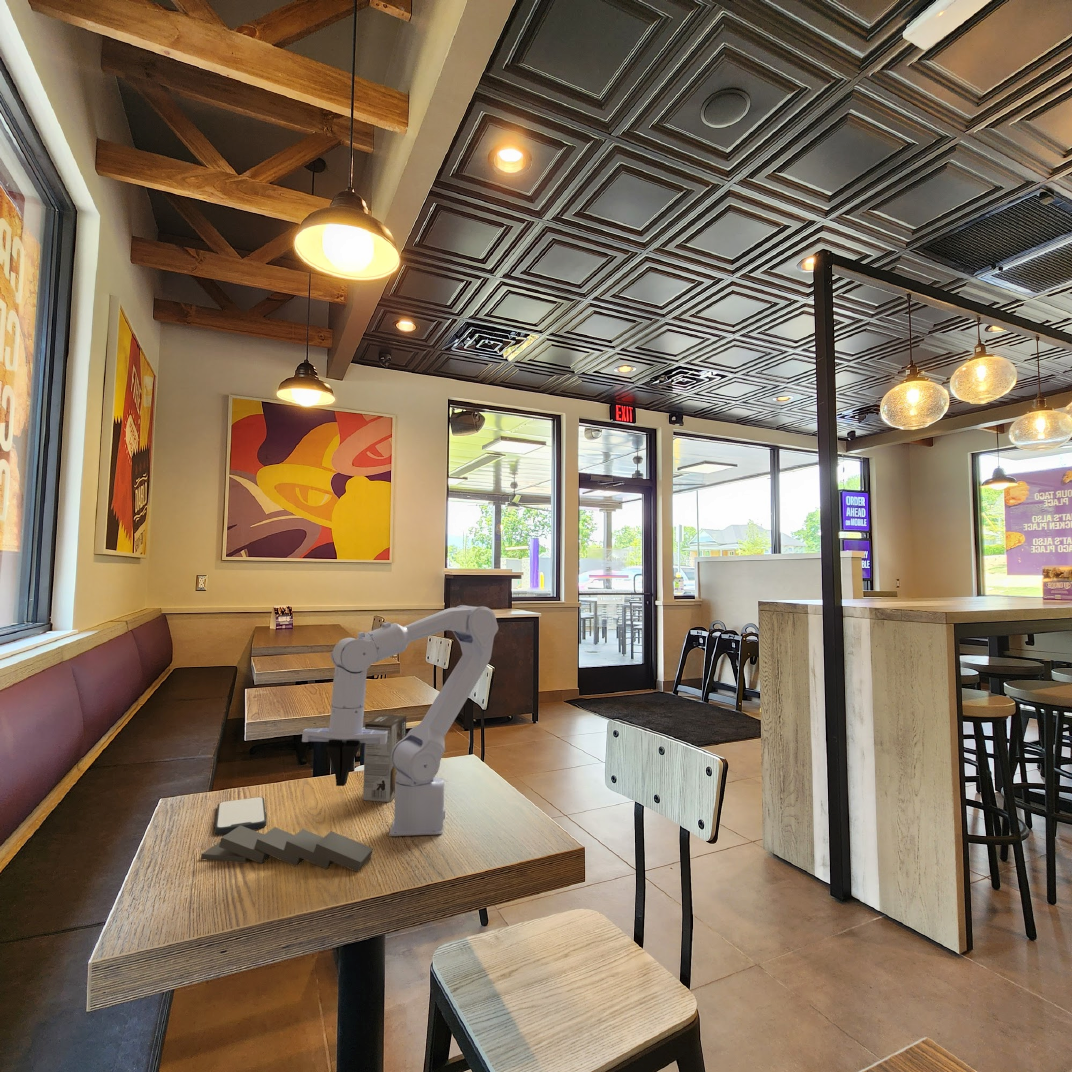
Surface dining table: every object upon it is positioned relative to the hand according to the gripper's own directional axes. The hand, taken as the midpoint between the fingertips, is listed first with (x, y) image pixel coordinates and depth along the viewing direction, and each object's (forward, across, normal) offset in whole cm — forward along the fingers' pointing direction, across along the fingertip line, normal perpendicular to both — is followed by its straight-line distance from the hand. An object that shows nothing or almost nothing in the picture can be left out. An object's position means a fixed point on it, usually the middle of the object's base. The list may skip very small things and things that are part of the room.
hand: (341, 784), depth 106 cm
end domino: (+11, +13, +3) cm, 17 cm away
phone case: (+12, +22, -15) cm, 29 cm away
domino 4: (+10, -6, +7) cm, 14 cm away
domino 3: (+10, -1, +6) cm, 12 cm away
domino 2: (+10, +4, +5) cm, 12 cm away
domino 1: (+10, +10, +4) cm, 15 cm away
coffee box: (+10, -4, -26) cm, 28 cm away
